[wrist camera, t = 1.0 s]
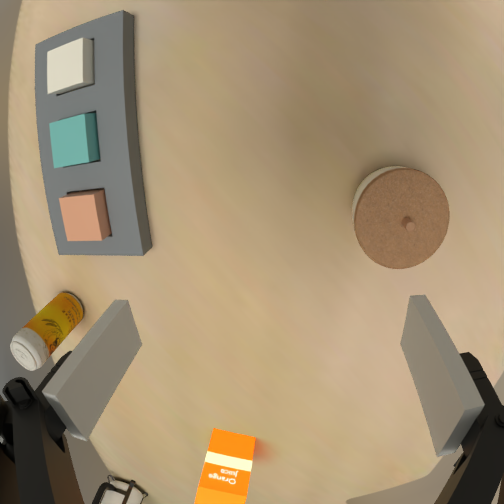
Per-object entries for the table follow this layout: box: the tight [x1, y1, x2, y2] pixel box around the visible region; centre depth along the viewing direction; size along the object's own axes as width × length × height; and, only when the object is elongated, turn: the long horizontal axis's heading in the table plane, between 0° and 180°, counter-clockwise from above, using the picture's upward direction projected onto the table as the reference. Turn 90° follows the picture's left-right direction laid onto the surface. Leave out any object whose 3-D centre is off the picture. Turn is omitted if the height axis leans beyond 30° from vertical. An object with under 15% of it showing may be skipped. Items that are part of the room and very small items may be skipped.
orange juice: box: [195, 428, 255, 504], centre depth 50 cm, size 8×9×20 cm
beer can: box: [10, 293, 83, 371], centre depth 43 cm, size 6×6×15 cm
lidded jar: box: [352, 166, 449, 269], centre depth 33 cm, size 11×11×9 cm
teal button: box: [49, 113, 101, 168], centre depth 34 cm, size 6×6×3 cm
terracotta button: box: [59, 189, 112, 241], centre depth 38 cm, size 6×6×3 cm
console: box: [35, 10, 152, 256], centre depth 36 cm, size 32×15×3 cm, turn 3°
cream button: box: [47, 38, 95, 94], centre depth 30 cm, size 6×6×3 cm
